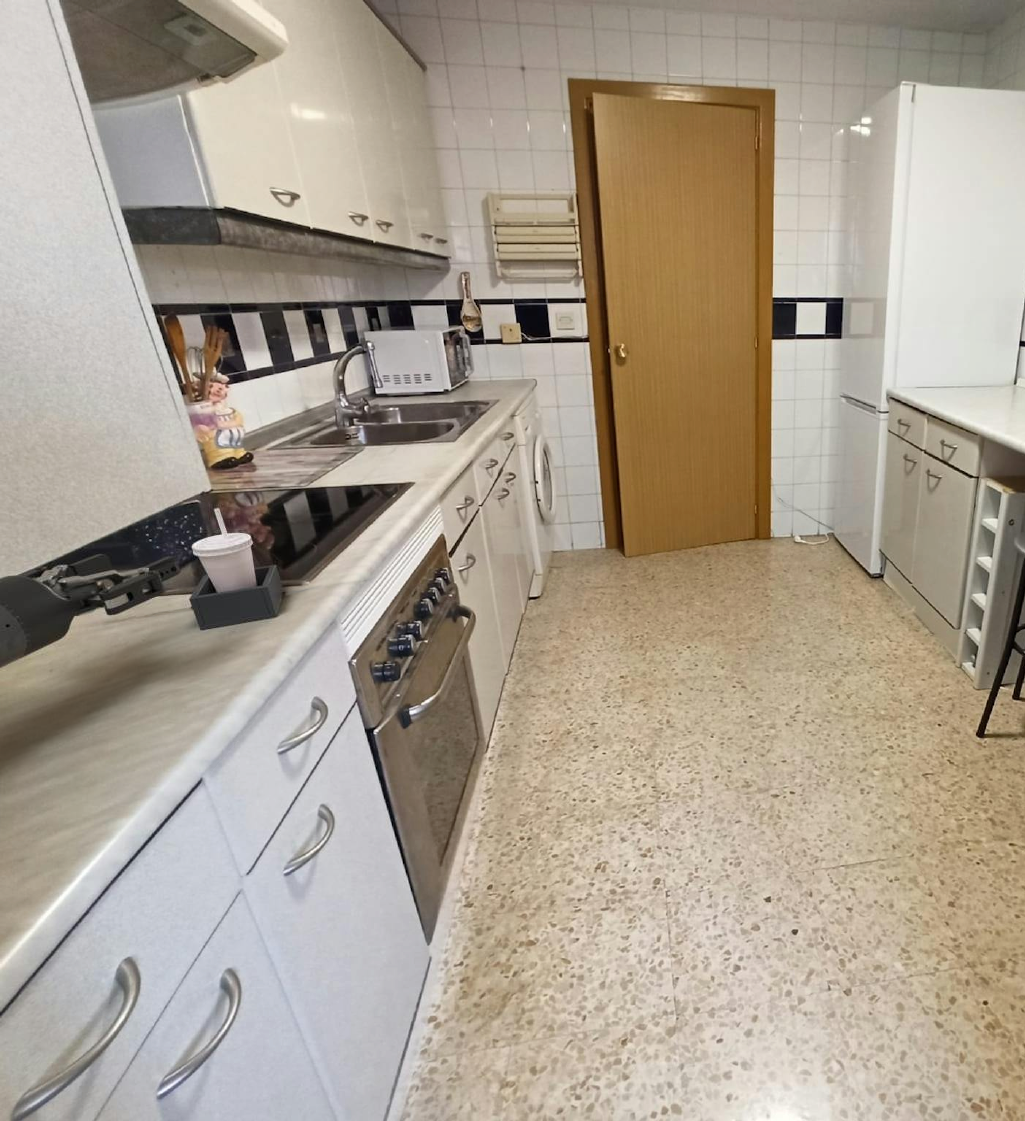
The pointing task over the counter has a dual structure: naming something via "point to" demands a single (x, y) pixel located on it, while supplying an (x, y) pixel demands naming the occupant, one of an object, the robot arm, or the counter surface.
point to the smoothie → (227, 559)
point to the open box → (238, 600)
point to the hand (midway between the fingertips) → (141, 562)
